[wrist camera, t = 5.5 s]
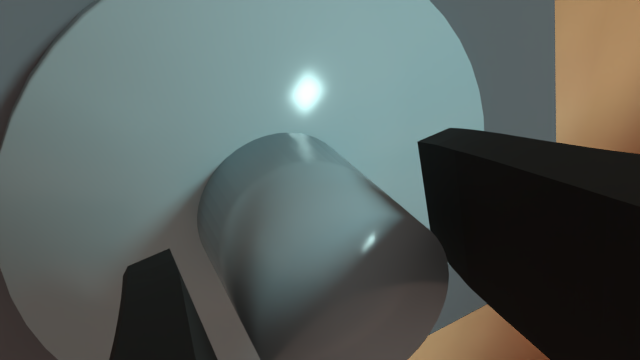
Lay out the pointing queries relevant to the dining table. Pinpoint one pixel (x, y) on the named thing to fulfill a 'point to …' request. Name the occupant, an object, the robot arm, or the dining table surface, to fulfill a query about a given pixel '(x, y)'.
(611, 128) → the dining table surface
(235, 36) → the lid
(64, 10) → the mat
